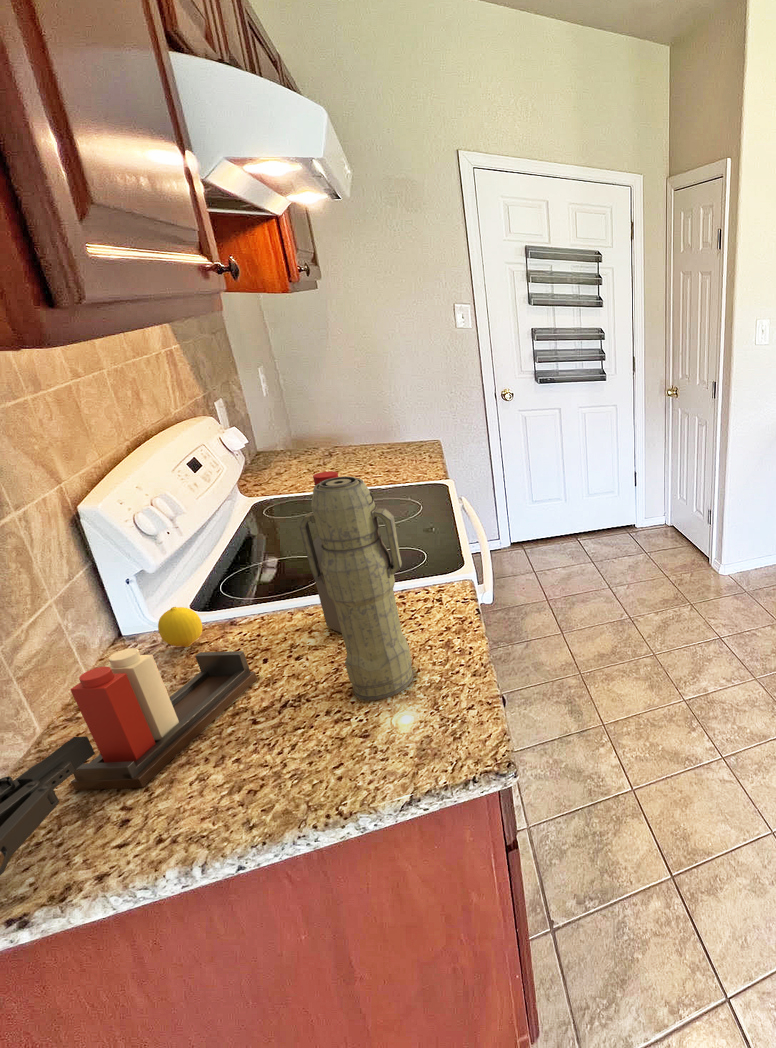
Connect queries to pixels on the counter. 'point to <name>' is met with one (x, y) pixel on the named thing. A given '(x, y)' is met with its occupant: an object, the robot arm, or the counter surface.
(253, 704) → the counter surface
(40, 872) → the counter surface
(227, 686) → the rail
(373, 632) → the thermos
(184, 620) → the lemon
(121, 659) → the marker cream
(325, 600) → the liquor
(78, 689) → the marker red
